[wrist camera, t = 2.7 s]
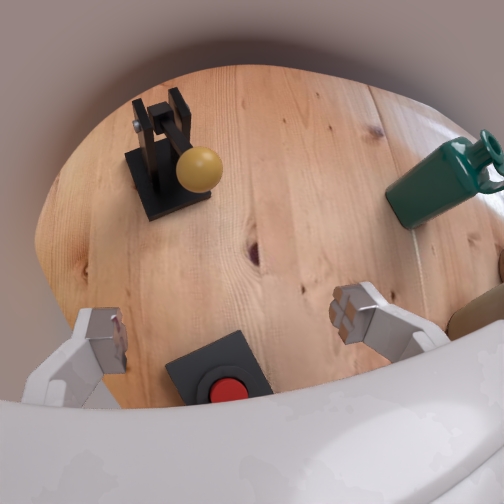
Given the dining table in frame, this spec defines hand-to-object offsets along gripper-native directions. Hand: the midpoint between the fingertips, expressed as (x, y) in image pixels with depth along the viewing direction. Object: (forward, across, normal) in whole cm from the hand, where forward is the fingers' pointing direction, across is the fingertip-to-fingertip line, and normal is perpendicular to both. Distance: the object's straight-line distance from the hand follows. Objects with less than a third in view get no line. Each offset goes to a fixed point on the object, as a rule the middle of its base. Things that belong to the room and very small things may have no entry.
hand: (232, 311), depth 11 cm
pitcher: (+30, -37, +9) cm, 48 cm away
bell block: (+13, -2, +25) cm, 28 cm away
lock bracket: (+34, +4, +4) cm, 34 cm away
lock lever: (+20, +1, -1) cm, 20 cm away
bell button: (+11, -2, +22) cm, 25 cm away
